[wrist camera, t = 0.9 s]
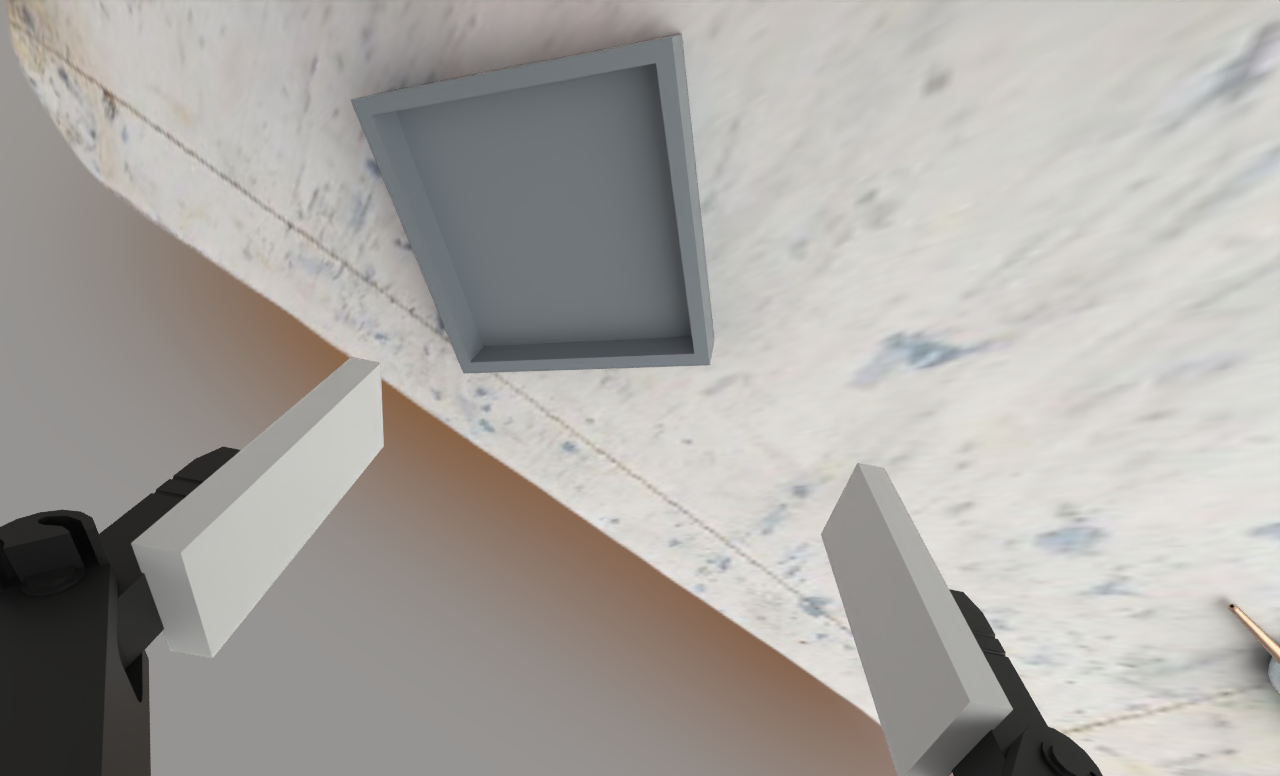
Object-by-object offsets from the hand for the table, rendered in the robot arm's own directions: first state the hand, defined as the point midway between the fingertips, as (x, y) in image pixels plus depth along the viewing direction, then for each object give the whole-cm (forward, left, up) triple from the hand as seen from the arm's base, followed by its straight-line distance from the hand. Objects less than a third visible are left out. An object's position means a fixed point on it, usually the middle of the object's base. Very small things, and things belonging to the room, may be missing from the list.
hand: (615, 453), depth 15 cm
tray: (+11, +1, -26) cm, 28 cm away
